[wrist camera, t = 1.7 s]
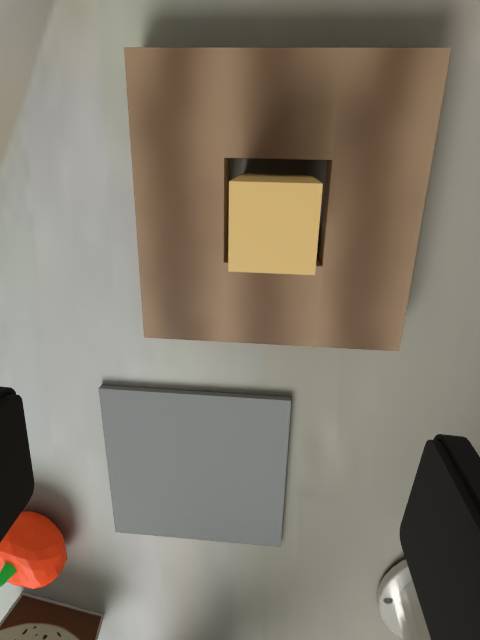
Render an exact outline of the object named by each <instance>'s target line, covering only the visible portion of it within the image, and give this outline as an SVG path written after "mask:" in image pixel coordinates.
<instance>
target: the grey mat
mask: <svg viewBox="0 0 480 640" xmlns="http://www.w3.org/2000/svg"><path fill="white" fill-rule="evenodd" d="M99 395H100V404H101V412H102V421H103V429H104V438H105V446H106V455H107V463H108V472H109V480H110V489H111V497H112V506H113V514H114V523H115V531H116V532H121V533H132V534H143V535H154V536H165V537H176V538H188V539H199V540H210V541H221V542H232V543H243V544H254V545H266V546H277V547H281V535H282V521H283V507H284V493H285V480H286V466H287V452H288V438H289V425H290V411H291V397H285V396H269V395H253V394H237V393H221V392H206V391H190V390H174V389H158V388H142V387H126V386H110V385H101V386H100V388H99Z"/></svg>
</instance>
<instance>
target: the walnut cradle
mask: <svg viewBox="0 0 480 640" xmlns="http://www.w3.org/2000/svg"><path fill="white" fill-rule="evenodd" d="M124 53H125V68H126V82H127V97H128V111H129V126H130V140H131V154H132V169H133V183H134V198H135V212H136V226H137V241H138V255H139V270H140V284H141V299H142V313H143V327H144V337H146V338H164V339H183V340H201V341H220V342H238V343H257V344H275V345H294V346H312V347H331V348H350V349H368V350H387V351H399V350H400V344H401V338H402V333H403V327H404V321H405V315H406V309H407V304H408V298H409V292H410V286H411V280H412V274H413V269H414V263H415V257H416V251H417V245H418V239H419V234H420V228H421V222H422V216H423V210H424V204H425V199H426V193H427V187H428V181H429V175H430V170H431V164H432V158H433V152H434V146H435V140H436V135H437V129H438V123H439V117H440V111H441V105H442V100H443V94H444V88H445V82H446V76H447V70H448V65H449V59H450V53H451V48H213V47H124ZM230 158H261V159H309V160H327V168H326V180H325V191H324V203H323V214H322V225H321V237H320V248H319V256H317V258H316V270H315V275H298V274H275V273H251V272H228V239H229V163H230Z"/></svg>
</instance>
